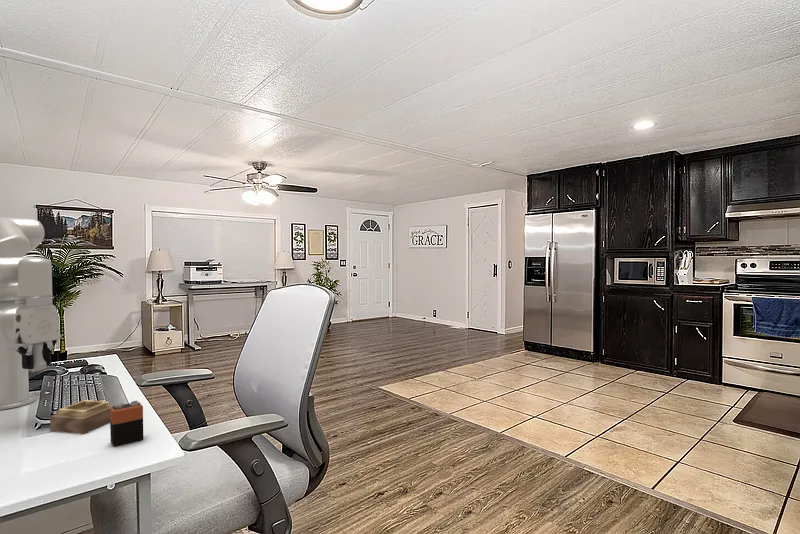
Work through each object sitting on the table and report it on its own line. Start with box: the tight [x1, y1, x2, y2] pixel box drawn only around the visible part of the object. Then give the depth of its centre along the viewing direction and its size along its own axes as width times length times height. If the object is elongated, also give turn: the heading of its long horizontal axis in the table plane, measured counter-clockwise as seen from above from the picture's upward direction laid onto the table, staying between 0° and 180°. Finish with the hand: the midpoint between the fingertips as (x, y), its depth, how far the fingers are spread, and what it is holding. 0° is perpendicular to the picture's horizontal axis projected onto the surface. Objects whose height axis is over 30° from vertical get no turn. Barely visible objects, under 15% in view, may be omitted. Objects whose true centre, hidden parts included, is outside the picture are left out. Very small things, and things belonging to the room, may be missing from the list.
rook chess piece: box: [28, 343, 48, 372], centre depth 129 cm, size 4×4×8 cm
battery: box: [109, 400, 144, 447], centre depth 117 cm, size 4×7×10 cm, turn 130°
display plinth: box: [49, 399, 114, 435], centre depth 128 cm, size 11×11×6 cm
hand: (37, 365), depth 129 cm, fingers closed on rook chess piece, 4 cm apart
